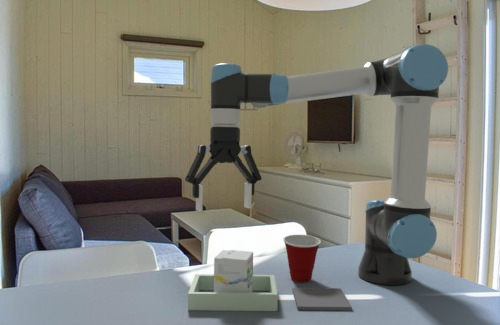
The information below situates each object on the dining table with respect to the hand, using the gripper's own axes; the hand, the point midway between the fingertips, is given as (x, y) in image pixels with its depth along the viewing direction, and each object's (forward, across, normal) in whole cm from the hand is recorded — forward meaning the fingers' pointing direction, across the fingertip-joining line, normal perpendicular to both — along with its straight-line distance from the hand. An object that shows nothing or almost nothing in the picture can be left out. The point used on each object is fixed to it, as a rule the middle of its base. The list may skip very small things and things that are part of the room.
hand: (223, 209), depth 115 cm
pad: (+22, -21, +14) cm, 34 cm away
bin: (+22, -1, +4) cm, 23 cm away
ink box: (+23, -1, +4) cm, 23 cm away
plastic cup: (+22, -26, -2) cm, 34 cm away
